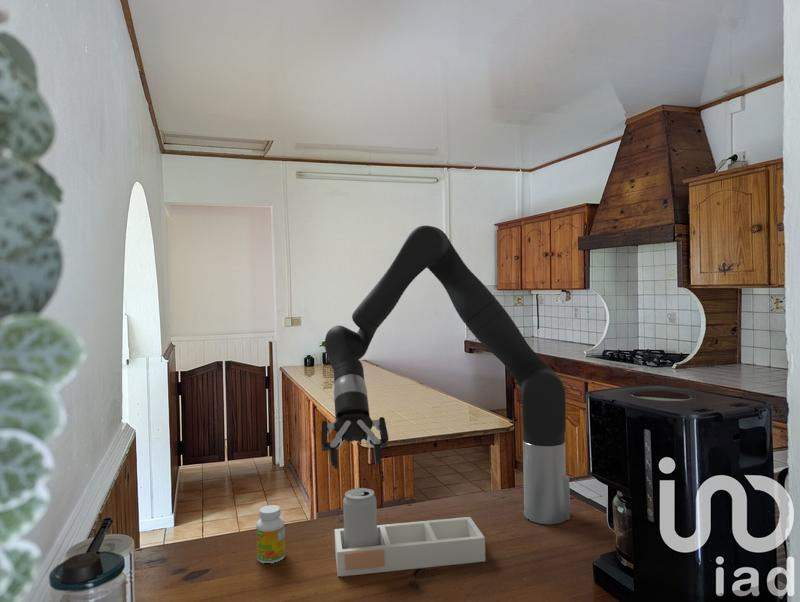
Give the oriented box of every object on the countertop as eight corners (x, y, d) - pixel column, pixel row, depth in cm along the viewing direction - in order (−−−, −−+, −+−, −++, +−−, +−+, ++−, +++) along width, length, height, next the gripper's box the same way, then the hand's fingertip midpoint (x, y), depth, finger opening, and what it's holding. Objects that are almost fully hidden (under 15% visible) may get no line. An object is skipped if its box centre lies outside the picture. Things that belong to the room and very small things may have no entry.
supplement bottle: (251, 562, 108) (250, 512, 108) (267, 549, 113) (265, 502, 113) (275, 566, 106) (274, 515, 106) (290, 553, 111) (289, 505, 111)
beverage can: (376, 562, 104) (375, 498, 104) (342, 562, 104) (341, 499, 104) (378, 546, 111) (377, 486, 110) (346, 546, 111) (344, 486, 110)
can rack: (470, 538, 116) (470, 516, 116) (486, 562, 106) (485, 538, 106) (335, 551, 111) (334, 529, 111) (337, 577, 101) (337, 553, 101)
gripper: (319, 391, 122) (322, 459, 111) (383, 388, 125) (392, 453, 113) (319, 410, 128) (322, 476, 116) (381, 406, 130) (389, 471, 119)
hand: (356, 465), depth 115 cm, fingers open, 8 cm apart
